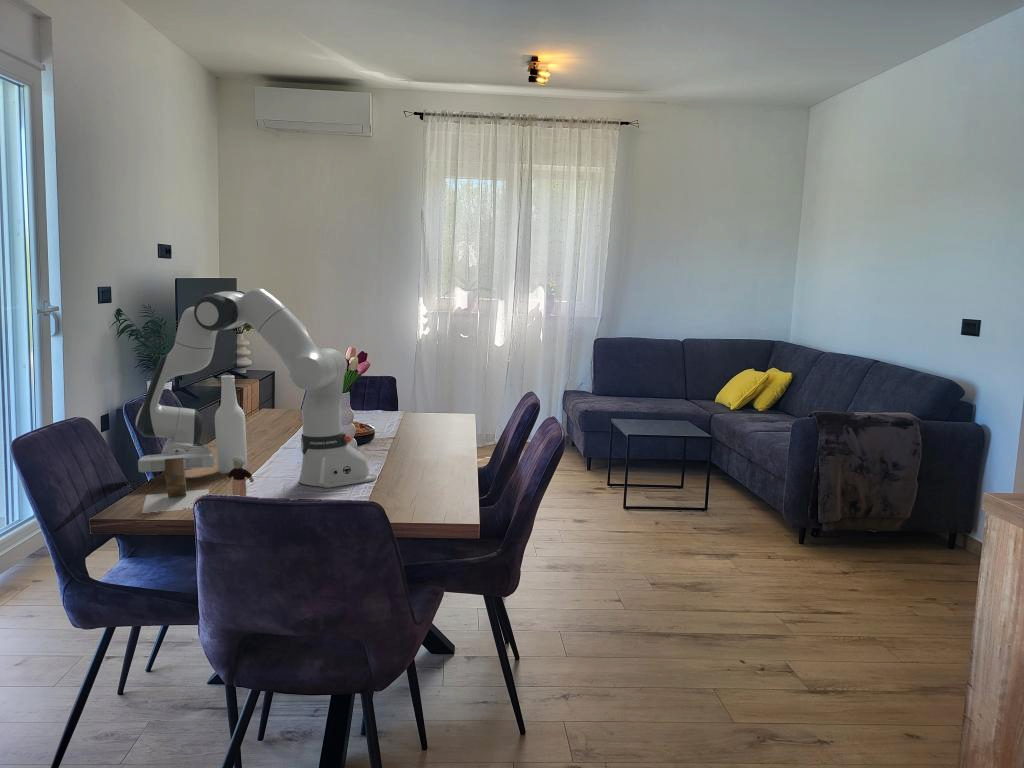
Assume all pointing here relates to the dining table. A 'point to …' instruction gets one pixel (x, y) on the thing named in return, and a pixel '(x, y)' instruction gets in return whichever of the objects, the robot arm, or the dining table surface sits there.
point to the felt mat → (171, 501)
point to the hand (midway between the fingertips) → (176, 468)
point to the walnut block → (175, 477)
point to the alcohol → (229, 428)
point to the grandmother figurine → (239, 476)
